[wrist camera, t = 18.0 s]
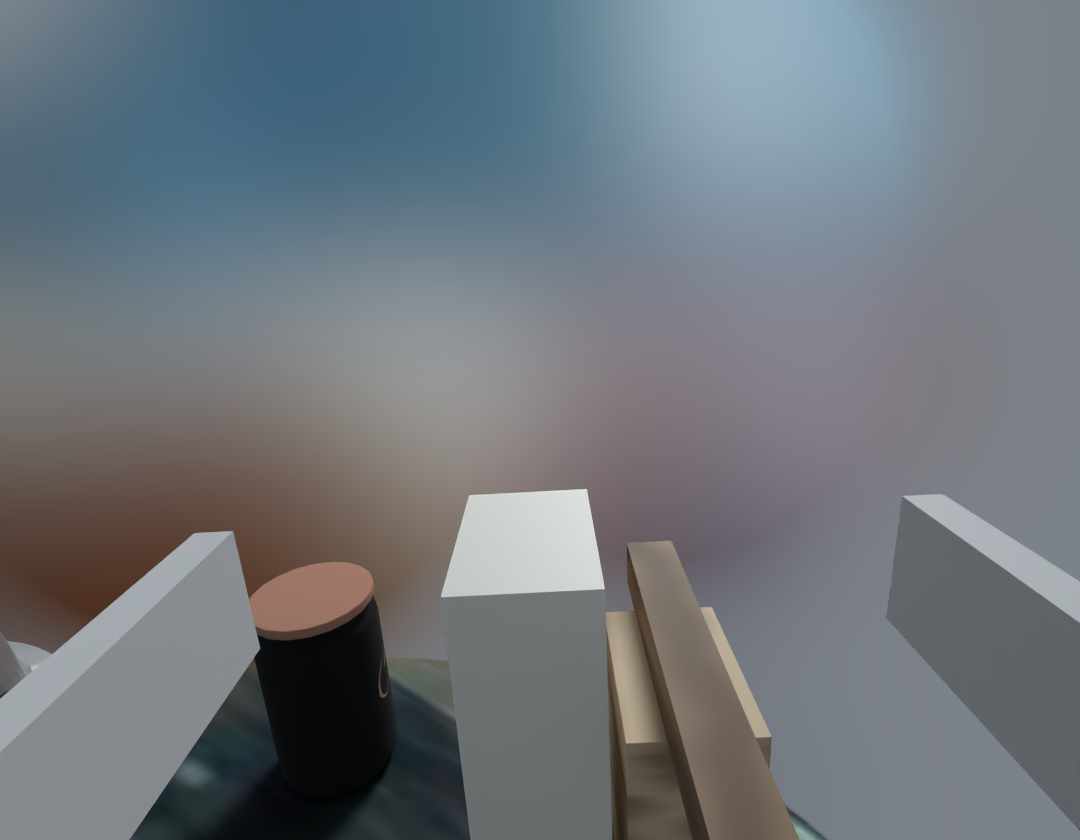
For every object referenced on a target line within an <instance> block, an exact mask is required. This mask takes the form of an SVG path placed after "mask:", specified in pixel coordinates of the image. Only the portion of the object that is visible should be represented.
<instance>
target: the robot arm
mask: <svg viewBox="0 0 1080 840" xmlns="http://www.w3.org/2000/svg"><path fill="white" fill-rule="evenodd" d="M886 618H887V619H888V620H889V622H891V624H892V625H893V626H894V627H895V628H896V629H897V630H898V631H899V633H900V634H901V635H902V636H903V637H904V638H905V639H906V640H907V641H908V642H909V643H910V644H911V646H912V647H913V648H914V649H915V650H916V651H917V652H918V653H919V654H920V656H921V657H922V658H923V659H924V660H925V661H926V662H927V663H928V664H929V666H930V667H931V668H932V669H933V670H934V671H935V672H936V673H937V674H938V675H939V676H940V678H941V679H942V680H943V681H944V682H945V683H946V684H947V685H948V686H949V687H950V688H951V690H952V691H953V692H954V693H955V694H956V695H957V696H958V697H959V698H960V700H961V701H962V702H963V703H964V704H965V705H966V706H967V707H968V708H969V709H970V711H971V712H972V713H973V714H974V715H975V716H976V717H977V718H978V719H979V720H980V722H981V723H982V724H983V725H984V726H985V727H986V728H987V729H988V730H989V731H990V733H991V734H992V735H993V736H994V737H995V738H996V739H997V740H998V741H999V742H1000V744H1001V745H1002V746H1003V747H1004V748H1005V749H1006V750H1007V751H1008V752H1009V753H1010V755H1011V756H1012V757H1013V758H1014V759H1015V760H1016V761H1017V762H1018V763H1019V764H1020V766H1021V767H1022V768H1023V769H1024V770H1025V771H1026V772H1027V773H1028V774H1029V775H1030V777H1031V778H1032V779H1034V781H1035V782H1036V783H1037V784H1038V785H1039V786H1040V788H1041V789H1042V790H1043V791H1044V792H1045V793H1046V794H1047V795H1048V796H1049V797H1050V798H1051V799H1052V801H1053V802H1054V803H1055V804H1056V805H1057V806H1058V807H1059V808H1060V810H1061V811H1062V812H1063V813H1064V814H1065V815H1066V816H1067V817H1068V818H1069V819H1070V820H1071V822H1072V823H1073V824H1074V825H1075V826H1076V827H1077V828H1078V829H1079V830H1080V582H1079V581H1078V580H1076V579H1074V578H1073V577H1071V576H1070V575H1068V574H1067V573H1065V572H1064V571H1062V570H1061V569H1059V568H1057V567H1056V566H1054V565H1053V564H1051V563H1050V562H1048V561H1046V560H1045V559H1043V558H1042V557H1040V556H1039V555H1037V554H1036V553H1034V552H1032V551H1031V550H1029V549H1028V548H1026V547H1025V546H1023V545H1021V544H1020V543H1018V542H1017V541H1015V540H1014V539H1012V538H1010V537H1009V536H1007V535H1006V534H1004V533H1002V532H1001V531H999V530H998V529H996V528H995V527H993V526H991V525H990V524H988V523H987V522H985V521H984V520H982V519H980V518H979V517H977V516H976V515H974V514H973V513H971V512H969V511H968V510H966V509H965V508H963V507H962V506H960V505H959V504H957V503H955V502H954V501H952V500H951V499H949V498H948V497H946V496H945V495H943V494H936V495H916V496H903V497H902V504H901V511H900V518H899V526H898V534H897V541H896V549H895V556H894V564H893V572H892V579H891V587H890V595H889V602H888V611H887V617H886ZM259 649H260V645H259V641H258V637H257V633H256V628H255V624H254V620H253V615H252V611H251V607H250V603H249V598H248V595H247V590H246V585H245V581H244V577H243V573H242V568H241V564H240V560H239V555H238V551H237V547H236V543H235V538H234V534H233V531H228V532H208V533H194V534H193V535H192V536H191V537H190V538H188V539H187V540H186V541H185V542H184V543H183V544H181V545H180V546H179V547H178V548H177V549H176V550H174V551H173V552H172V553H171V554H170V555H168V556H167V557H166V558H165V559H164V560H163V561H161V562H160V563H159V564H158V565H157V566H156V567H154V568H153V569H152V570H151V571H150V572H148V573H147V574H146V575H145V576H144V577H143V578H141V579H140V580H139V581H138V582H137V583H136V584H134V585H133V586H132V587H131V588H130V589H129V590H127V591H126V592H125V593H124V594H123V595H121V596H120V597H119V598H118V599H117V600H116V601H114V602H113V603H112V604H111V605H110V606H109V607H107V608H106V609H105V610H104V611H103V612H101V613H100V614H99V615H98V616H97V617H96V618H95V619H93V620H92V621H91V622H90V623H89V624H87V625H86V626H85V627H84V628H83V629H82V630H80V631H79V632H78V633H77V634H76V635H74V636H73V637H72V638H71V639H70V640H69V641H67V642H66V643H65V644H64V645H63V646H62V647H60V648H59V649H58V650H57V651H56V652H55V653H54V654H50V653H48V652H47V651H44V650H42V649H40V648H37V647H35V646H31V645H27V644H23V643H17V642H8V641H6V640H5V638H4V637H3V635H2V634H1V632H0V840H129V839H130V838H131V836H132V835H133V833H134V832H135V831H136V829H137V828H138V826H139V825H140V823H141V822H142V820H143V819H144V817H145V816H146V814H147V813H148V812H149V810H150V809H151V807H152V806H153V804H154V803H155V801H156V800H157V798H158V797H159V795H160V794H161V793H162V791H163V790H164V788H165V787H166V785H167V784H168V782H169V781H170V779H171V778H172V777H173V775H174V774H175V772H176V771H177V769H178V768H179V766H180V765H181V763H182V762H183V760H184V759H185V758H186V756H187V755H188V753H189V752H190V750H191V749H192V747H193V746H194V744H195V743H196V741H197V740H198V739H199V737H200V736H201V734H202V733H203V731H204V730H205V728H206V727H207V725H208V724H209V722H210V721H211V720H212V718H213V717H214V715H215V714H216V712H217V711H218V709H219V708H220V706H221V705H222V704H223V702H224V701H225V699H226V698H227V696H228V695H229V693H230V692H231V690H232V689H233V687H234V686H235V685H236V683H237V682H238V680H239V679H240V677H241V676H242V674H243V673H244V671H245V670H246V668H247V667H248V666H249V664H250V662H251V661H252V660H253V658H254V657H255V655H256V654H257V652H258V651H259Z"/></svg>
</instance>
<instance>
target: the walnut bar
mask: <svg viewBox="0 0 1080 840" xmlns="http://www.w3.org/2000/svg"><path fill="white" fill-rule="evenodd" d="M627 576H628V577H627V578H628V579H627V581H628V586H629V590H630V593H631V597H632V602H633V606H634V610H635V614H636V618H637V622H638V626H639V630H640V634H641V638H642V642H643V646H644V650H645V654H646V658H647V662H648V666H649V670H650V674H651V678H652V681H653V685H654V689H655V693H656V697H657V701H658V705H659V709H660V713H661V717H662V721H663V725H664V729H665V733H666V737H667V741H668V745H669V749H670V753H671V757H672V761H673V765H674V769H675V773H676V777H677V781H678V785H679V789H680V793H681V797H682V801H683V805H684V809H685V813H686V817H687V821H688V825H689V829H690V833H691V837H692V840H799V838H798V835H797V833H796V831H795V828H794V826H793V824H792V821H791V819H790V817H789V814H788V812H787V810H786V807H785V805H784V803H783V800H782V798H781V796H780V793H779V791H778V789H777V786H776V784H775V782H774V779H773V777H772V775H771V772H770V770H769V768H768V765H767V763H766V761H765V758H764V756H763V754H762V751H761V749H760V747H759V744H758V742H757V740H756V737H755V735H754V733H753V730H752V728H751V726H750V723H749V721H748V719H747V716H746V714H745V712H744V710H743V707H742V705H741V703H740V700H739V698H738V696H737V693H736V691H735V689H734V686H733V684H732V682H731V679H730V677H729V675H728V672H727V670H726V668H725V665H724V663H723V661H722V658H721V656H720V654H719V651H718V649H717V647H716V644H715V642H714V640H713V637H712V635H711V633H710V630H709V628H708V626H707V623H706V621H705V619H704V616H703V614H702V612H701V609H700V607H699V605H698V603H697V600H696V598H695V595H694V593H693V591H692V588H691V586H690V584H689V581H688V579H687V577H686V574H685V572H684V570H683V567H682V565H681V563H680V560H679V558H678V556H677V553H676V551H675V549H674V546H673V544H672V542H671V541H657V542H637V543H627Z"/></svg>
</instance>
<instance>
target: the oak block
mask: <svg viewBox="0 0 1080 840" xmlns="http://www.w3.org/2000/svg"><path fill="white" fill-rule="evenodd" d="M700 609H701V612H702V614H703V616H704V619H705V621H706V623H707V626H708V628H709V630H710V633H711V635H712V637H713V640H714V642H715V644H716V647H717V649H718V651H719V654H720V656H721V658H722V661H723V663H724V665H725V668H726V670H727V672H728V675H729V677H730V679H731V682H732V684H733V686H734V689H735V691H736V693H737V696H738V698H739V700H740V703H741V705H742V707H743V710H744V712H745V714H746V716H747V719H748V721H749V723H750V726H751V728H752V730H753V733H754V735H755V737H756V740H757V742H758V744H759V747H760V749H761V751H762V754H763V756H764V758H765V761H766V763H767V765H768V768H769V767H770V753H771V738H772V737H771V735H770V732H769V730H768V728H767V726H766V724H765V721H764V719H763V717H762V715H761V713H760V711H759V709H758V706H757V704H756V702H755V700H754V698H753V696H752V694H751V691H750V689H749V687H748V685H747V683H746V680H745V678H744V676H743V674H742V672H741V670H740V668H739V665H738V663H737V661H736V659H735V657H734V655H733V652H732V650H731V648H730V646H729V644H728V642H727V639H726V637H725V635H724V633H723V631H722V629H721V626H720V624H719V622H718V620H717V618H716V616H715V614H714V611H713V609H712V608H711V607H706V608H700ZM606 644H607V677H608V710H609V743H610V777H611V810H612V831H613V839H614V840H692V837H691V833H690V829H689V825H688V821H687V817H686V813H685V809H684V805H683V801H682V797H681V793H680V789H679V785H678V781H677V777H676V773H675V769H674V765H673V761H672V757H671V753H670V749H669V745H668V741H667V737H666V733H665V729H664V725H663V721H662V717H661V713H660V709H659V705H658V701H657V697H656V693H655V689H654V685H653V681H652V678H651V674H650V670H649V666H648V662H647V658H646V654H645V650H644V646H643V642H642V638H641V634H640V630H639V626H638V622H637V618H636V614H635V611H624V612H606Z"/></svg>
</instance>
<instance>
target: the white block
mask: <svg viewBox="0 0 1080 840" xmlns="http://www.w3.org/2000/svg"><path fill="white" fill-rule="evenodd" d="M441 603H442V612H443V620H444V628H445V636H446V644H447V652H448V660H449V668H450V676H451V684H452V693H453V701H454V709H455V717H456V725H457V733H458V741H459V749H460V757H461V765H462V773H463V782H464V790H465V798H466V806H467V814H468V822H469V830H470V838H471V840H612V810H611V777H610V743H609V710H608V677H607V644H606V612H605V588H604V582H603V577H602V571H601V566H600V560H599V554H598V549H597V543H596V538H595V532H594V527H593V521H592V516H591V510H590V505H589V499H588V494H587V490H586V489H579V490H560V491H542V492H522V493H503V494H486V495H469V498H468V502H467V505H466V509H465V512H464V516H463V520H462V523H461V527H460V530H459V534H458V537H457V541H456V544H455V548H454V552H453V555H452V559H451V562H450V566H449V569H448V573H447V577H446V580H445V584H444V587H443V591H442V595H441Z"/></svg>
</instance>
